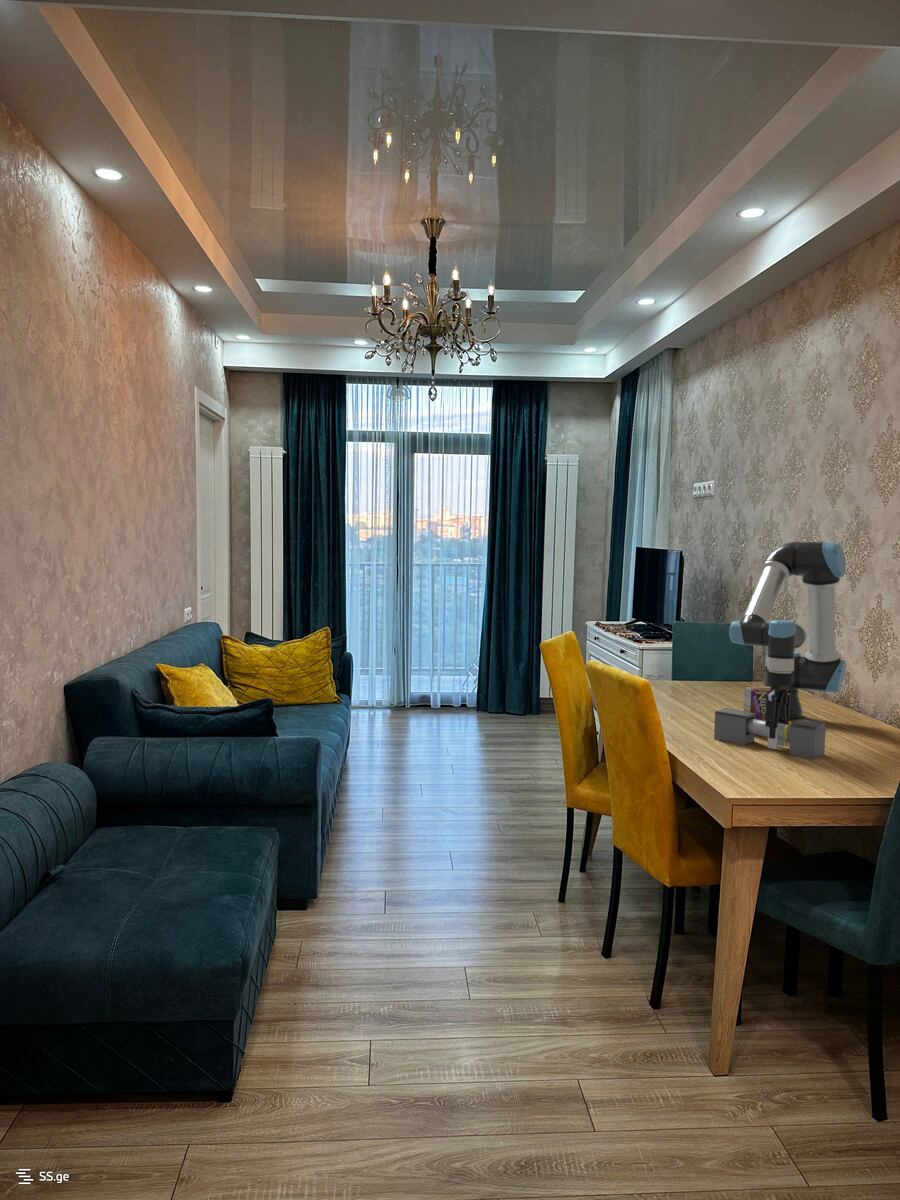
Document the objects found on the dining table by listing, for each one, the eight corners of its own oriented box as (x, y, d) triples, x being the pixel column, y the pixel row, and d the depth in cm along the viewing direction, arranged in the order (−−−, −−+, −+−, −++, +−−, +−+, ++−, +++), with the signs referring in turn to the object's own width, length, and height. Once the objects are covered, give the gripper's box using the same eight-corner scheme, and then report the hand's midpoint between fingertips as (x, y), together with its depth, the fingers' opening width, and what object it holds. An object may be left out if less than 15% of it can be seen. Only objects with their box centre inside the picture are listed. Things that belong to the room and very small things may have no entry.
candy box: (765, 731, 264) (767, 686, 263) (773, 734, 260) (775, 688, 259) (741, 732, 262) (743, 686, 261) (749, 735, 258) (751, 689, 257)
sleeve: (714, 739, 252) (715, 711, 252) (724, 735, 257) (725, 708, 257) (744, 745, 245) (745, 716, 245) (754, 741, 250) (755, 713, 250)
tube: (735, 733, 248) (735, 716, 248) (742, 730, 252) (743, 714, 251) (800, 745, 234) (801, 728, 234) (806, 742, 238) (807, 725, 237)
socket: (789, 754, 235) (790, 722, 234) (800, 749, 241) (801, 718, 240) (813, 759, 230) (815, 727, 229) (824, 754, 236) (825, 722, 235)
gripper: (779, 666, 249) (776, 739, 251) (755, 672, 236) (751, 749, 238) (804, 669, 244) (800, 744, 245) (780, 676, 231) (776, 754, 233)
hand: (776, 746), depth 242 cm, fingers closed on tube, 5 cm apart
